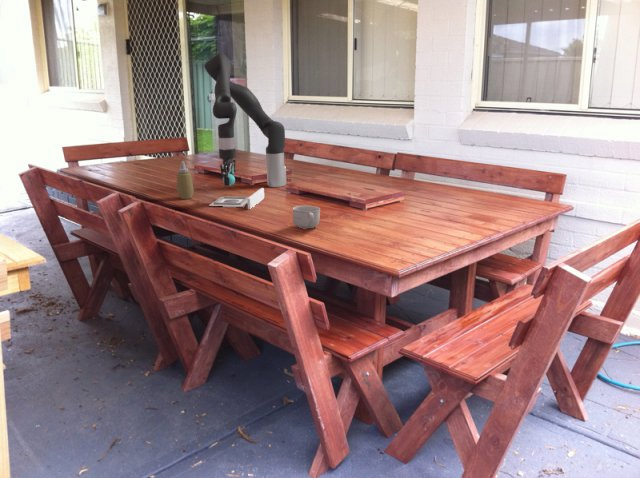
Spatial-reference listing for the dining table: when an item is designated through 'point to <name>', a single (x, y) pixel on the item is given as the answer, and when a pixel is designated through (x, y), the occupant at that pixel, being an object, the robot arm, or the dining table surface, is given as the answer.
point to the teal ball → (230, 179)
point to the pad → (230, 201)
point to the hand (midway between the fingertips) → (229, 184)
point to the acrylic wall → (255, 198)
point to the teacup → (306, 216)
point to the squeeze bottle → (184, 183)
